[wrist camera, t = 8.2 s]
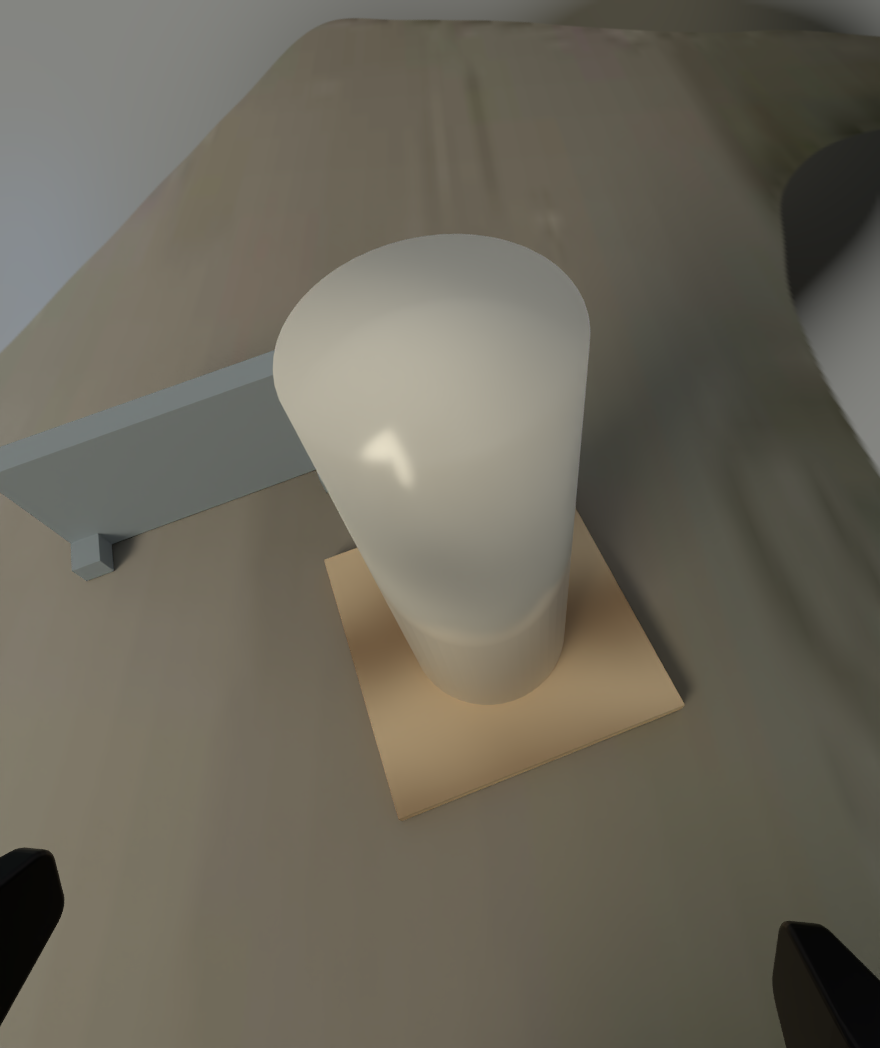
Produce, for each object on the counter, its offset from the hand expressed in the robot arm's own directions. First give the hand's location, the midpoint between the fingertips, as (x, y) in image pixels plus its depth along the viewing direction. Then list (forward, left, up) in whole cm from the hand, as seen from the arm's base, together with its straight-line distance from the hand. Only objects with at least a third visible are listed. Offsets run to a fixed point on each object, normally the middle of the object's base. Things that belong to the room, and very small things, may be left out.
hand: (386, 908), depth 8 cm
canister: (+8, -3, -13) cm, 15 cm away
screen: (+18, +6, -14) cm, 23 cm away
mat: (+8, -3, -14) cm, 16 cm away
